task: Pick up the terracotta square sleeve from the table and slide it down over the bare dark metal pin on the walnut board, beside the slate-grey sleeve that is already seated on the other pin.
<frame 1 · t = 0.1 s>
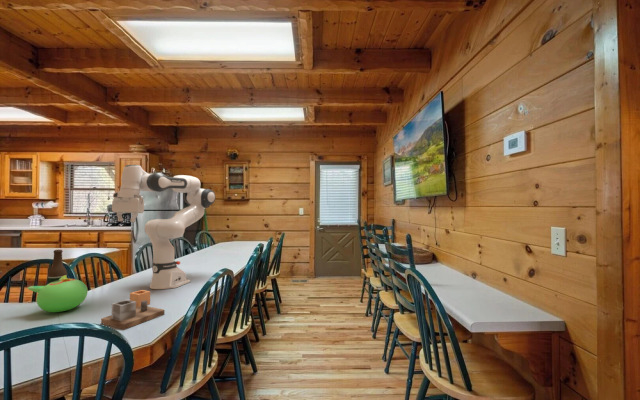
hand: (126, 221, 160), 39 cm above the table, tool pointing down, fingers open, 8 cm apart
gravy boat: (61, 310, 139), on the table
pin board: (134, 318, 130), on the table
beer bottle: (56, 297, 157), on the table
terracotta sleeve: (140, 304, 148), on the table
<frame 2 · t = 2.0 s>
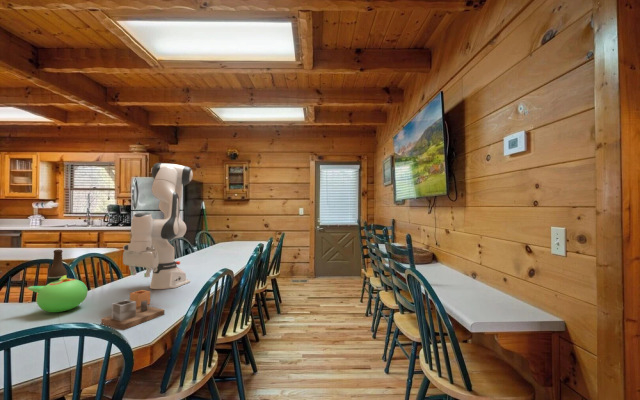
hand: (140, 276, 147), 14 cm above the table, tool pointing down, fingers open, 8 cm apart
nothing on the table moved.
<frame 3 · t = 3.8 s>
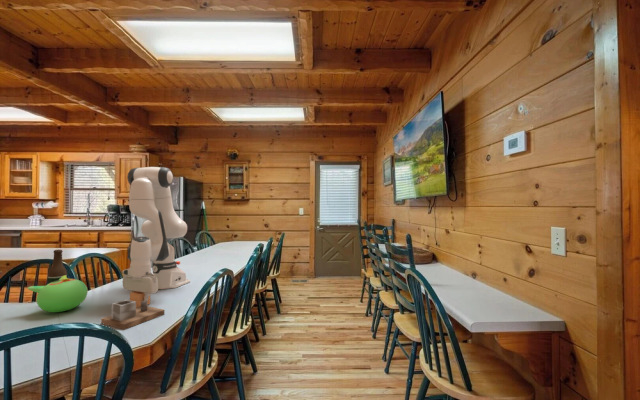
hand: (140, 300, 148), 2 cm above the table, tool pointing down, fingers closed on terracotta sleeve, 6 cm apart
terracotta sleeve: (140, 304, 148), on the table, touching gripper
everything else where it was.
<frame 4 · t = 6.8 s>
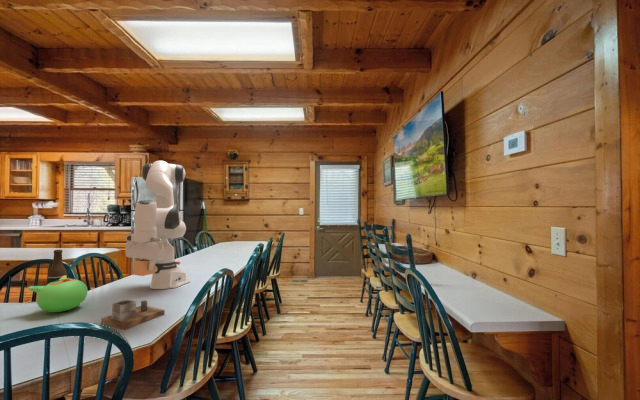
hand: (144, 269, 135), 20 cm above the table, tool pointing down, fingers closed on terracotta sleeve, 6 cm apart
terracotta sleeve: (143, 274, 135), point 18 cm above the table, touching gripper
everything else where it was.
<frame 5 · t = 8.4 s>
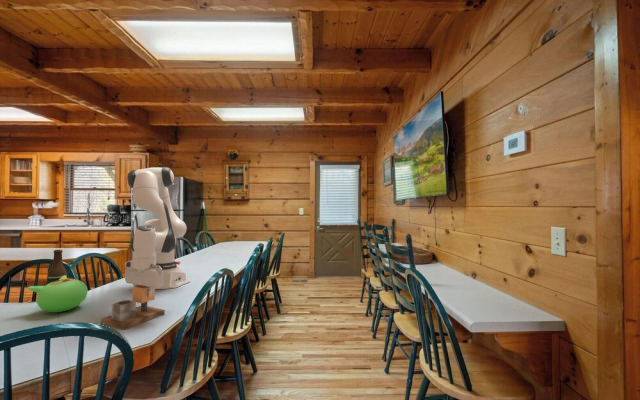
hand: (144, 295, 134), 9 cm above the table, tool pointing down, fingers closed on terracotta sleeve, 6 cm apart
terracotta sleeve: (143, 300, 134), point 7 cm above the table, touching gripper
everything else where it was.
when the fingers open (6 cm above the table, at t = 9.9 s): terracotta sleeve drops 1 cm, resting on pin board.
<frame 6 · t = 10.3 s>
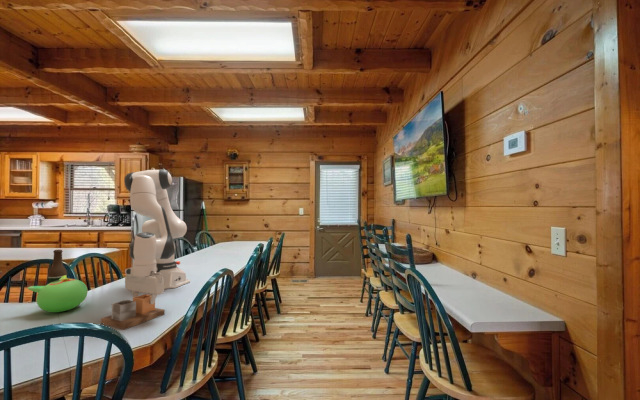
hand: (144, 302, 134), 6 cm above the table, tool pointing down, fingers open, 8 cm apart
terracotta sleeve: (143, 310, 134), point 2 cm above the table, touching pin board
everything else where it was.
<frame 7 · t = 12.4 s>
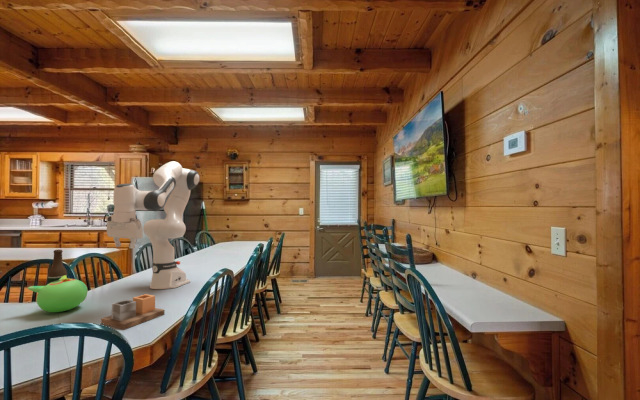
hand: (124, 247, 146), 28 cm above the table, tool pointing down, fingers open, 8 cm apart
nothing on the table moved.
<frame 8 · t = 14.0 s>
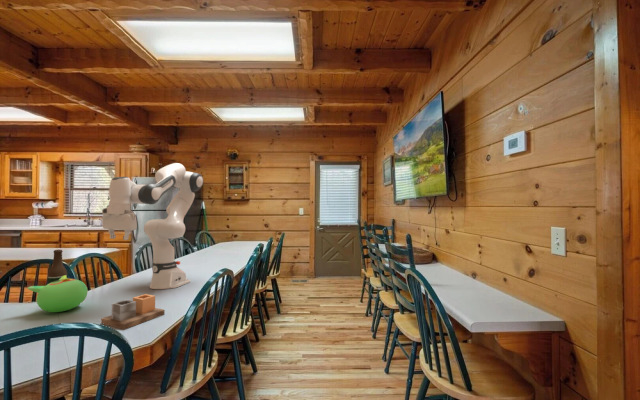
hand: (119, 239, 148), 31 cm above the table, tool pointing down, fingers open, 8 cm apart
nothing on the table moved.
at the end: terracotta sleeve 0.1 cm from the target spot on the pin board, point 2.0 cm above the pin board's base; terracotta sleeve tilted 0°; the gripper is holding nothing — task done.
